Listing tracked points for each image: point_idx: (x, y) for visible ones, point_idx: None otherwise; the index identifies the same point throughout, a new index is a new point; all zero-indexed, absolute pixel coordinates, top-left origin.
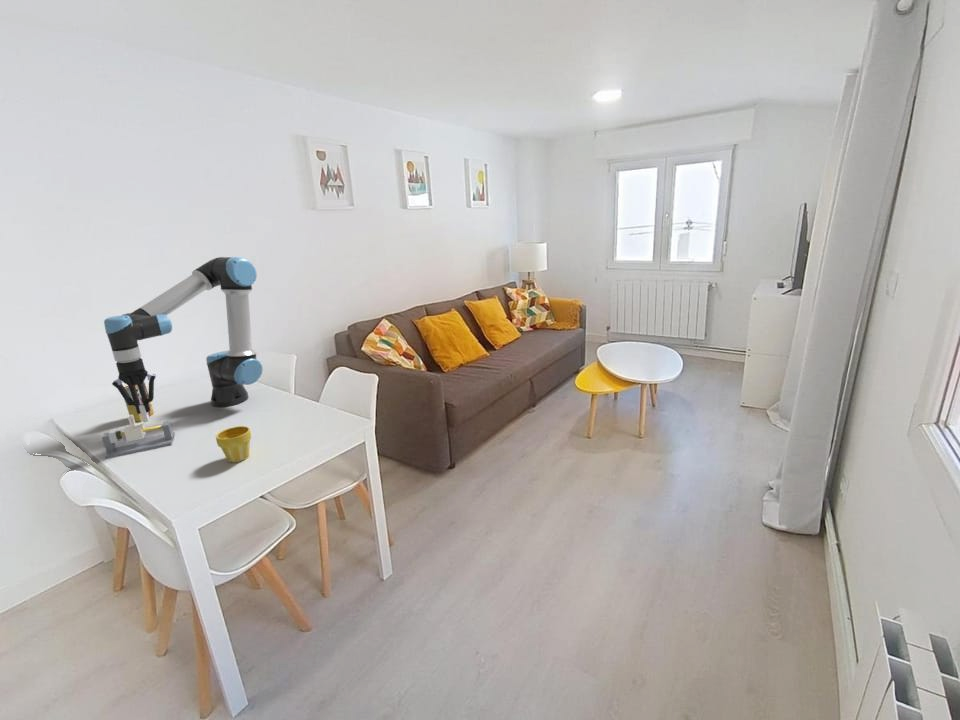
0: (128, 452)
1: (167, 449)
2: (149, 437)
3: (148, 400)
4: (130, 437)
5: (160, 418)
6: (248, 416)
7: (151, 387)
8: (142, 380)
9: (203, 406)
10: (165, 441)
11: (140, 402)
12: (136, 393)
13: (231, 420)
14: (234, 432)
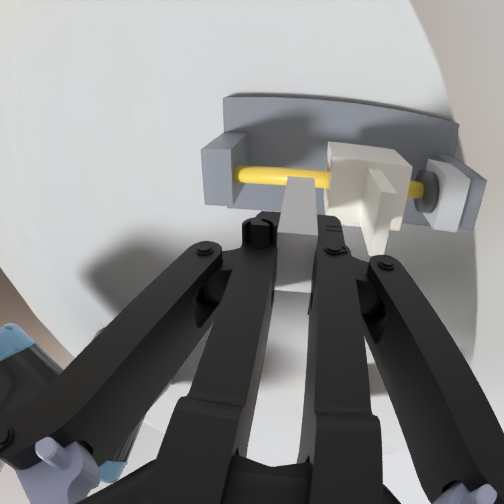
0: (384, 107)
1: (236, 58)
2: (317, 209)
3: (220, 252)
4: (381, 151)
5: (294, 360)
6: (48, 225)
7: (102, 345)
8: (129, 486)
9: (191, 367)
10: (247, 122)
11: None
12: (309, 360)
13: (78, 222)
14: None
